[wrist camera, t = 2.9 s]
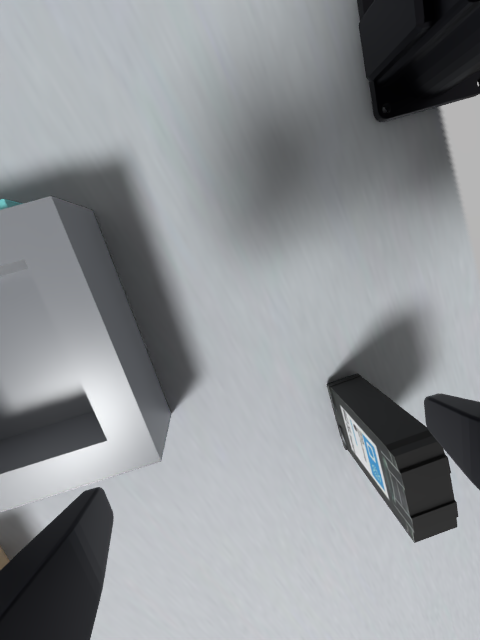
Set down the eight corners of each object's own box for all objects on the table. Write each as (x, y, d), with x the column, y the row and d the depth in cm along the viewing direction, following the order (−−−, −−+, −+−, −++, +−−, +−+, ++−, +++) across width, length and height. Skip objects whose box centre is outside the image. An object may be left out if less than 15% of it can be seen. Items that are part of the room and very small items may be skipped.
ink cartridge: (323, 381, 20) (395, 459, 13) (355, 370, 20) (445, 441, 13) (340, 442, 21) (415, 549, 14) (370, 432, 22) (461, 531, 14)
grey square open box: (89, 200, 16) (45, 182, 12) (171, 414, 20) (161, 461, 15) (-154, 268, 16) (-293, 276, 11) (-27, 476, 19) (-96, 543, 15)
